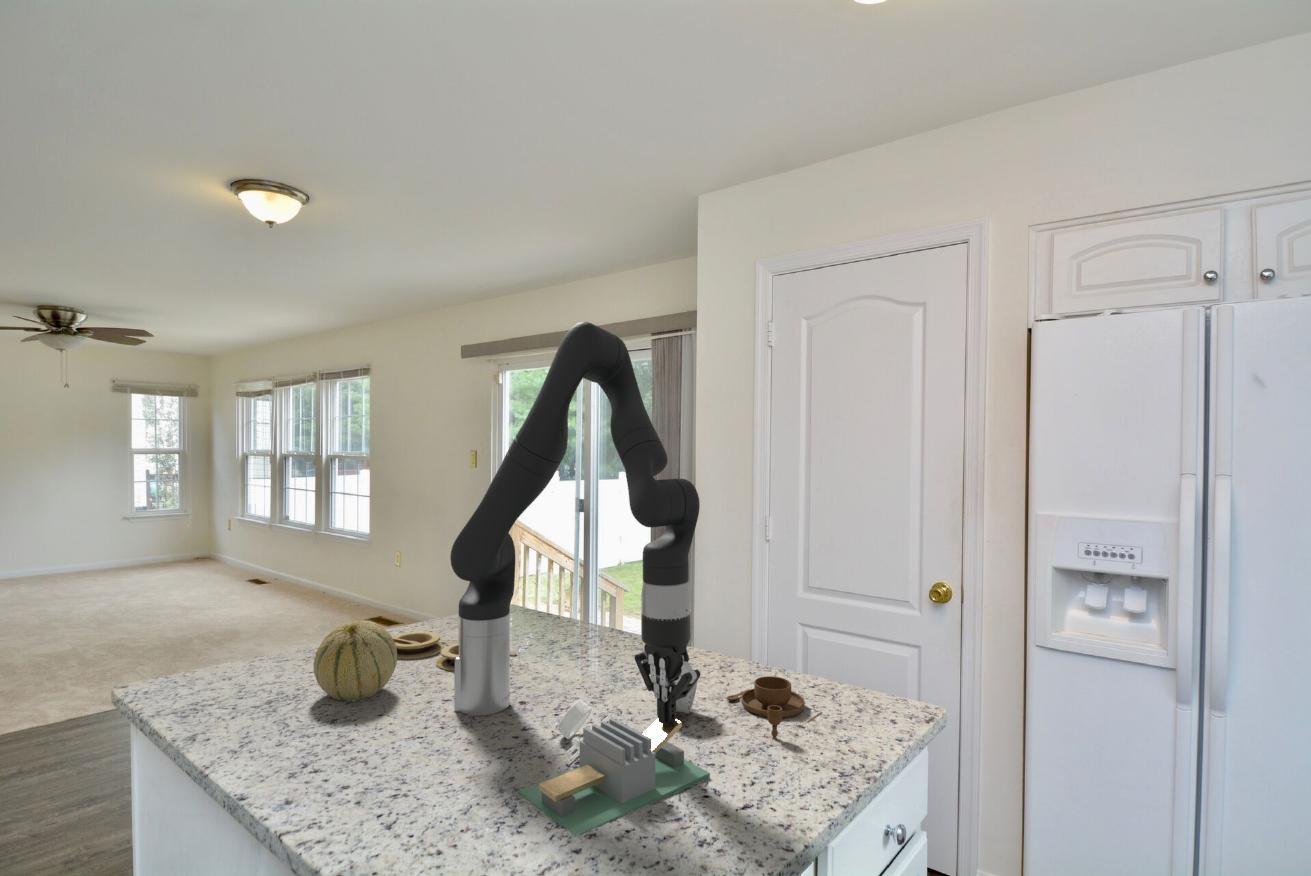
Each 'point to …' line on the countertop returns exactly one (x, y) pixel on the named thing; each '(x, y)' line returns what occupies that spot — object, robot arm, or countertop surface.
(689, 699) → the mechanical component
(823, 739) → the countertop surface
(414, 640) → the tableware set
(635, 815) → the countertop surface
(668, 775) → the board
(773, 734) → the place setting
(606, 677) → the countertop surface
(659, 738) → the wooden block
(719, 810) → the countertop surface
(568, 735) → the wide band ring
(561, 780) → the left strap
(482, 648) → the robot arm
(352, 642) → the cantaloupe
